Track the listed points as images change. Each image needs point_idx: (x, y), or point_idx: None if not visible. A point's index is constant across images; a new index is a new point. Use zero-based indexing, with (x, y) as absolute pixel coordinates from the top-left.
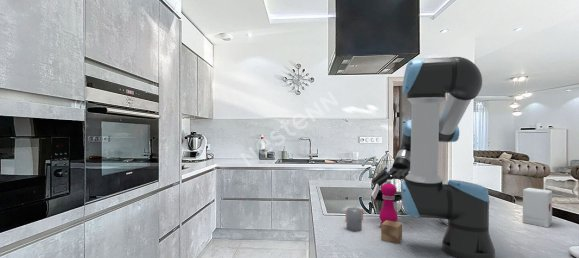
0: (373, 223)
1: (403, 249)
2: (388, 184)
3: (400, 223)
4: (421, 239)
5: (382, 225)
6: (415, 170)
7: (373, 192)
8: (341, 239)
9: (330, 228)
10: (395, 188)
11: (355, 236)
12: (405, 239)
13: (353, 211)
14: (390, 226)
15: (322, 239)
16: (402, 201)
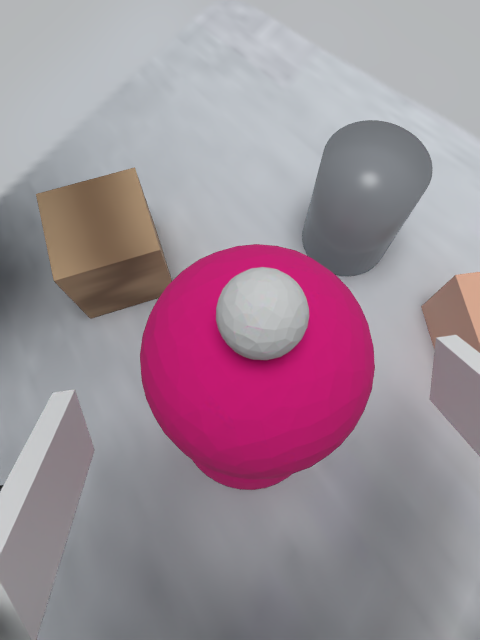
0: (361, 419)
1: (26, 209)
2: (227, 278)
3: (58, 263)
4: (7, 399)
5: (129, 174)
6: None
7: (473, 358)
8: (271, 104)
9: None
10: (141, 372)
11: (261, 170)
12: (73, 325)
13: (342, 128)
14: (82, 184)
15: (315, 54)
16: (76, 397)
